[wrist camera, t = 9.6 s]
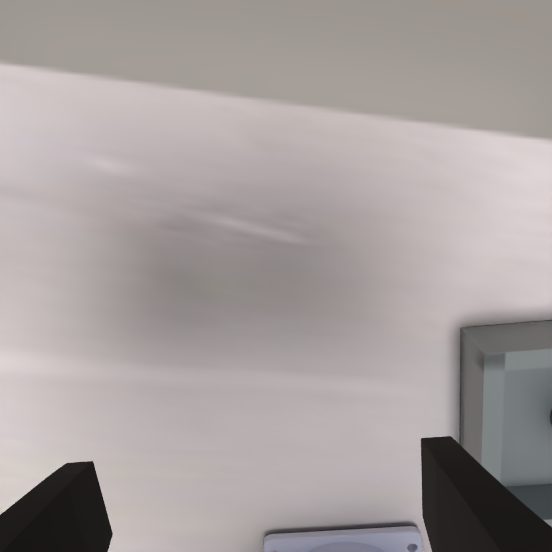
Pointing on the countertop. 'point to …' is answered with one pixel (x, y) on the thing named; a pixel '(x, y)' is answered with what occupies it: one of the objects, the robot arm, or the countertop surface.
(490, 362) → the tray
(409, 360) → the countertop surface
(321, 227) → the countertop surface
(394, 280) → the countertop surface
